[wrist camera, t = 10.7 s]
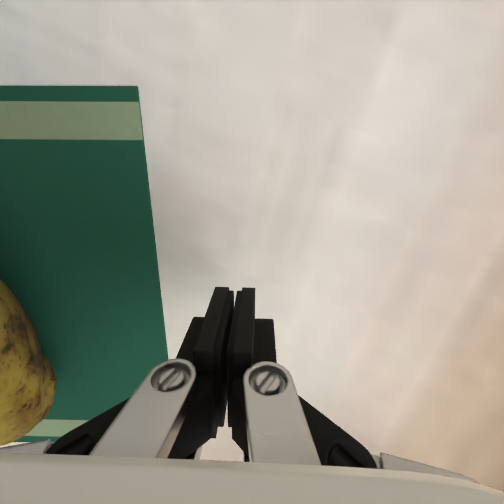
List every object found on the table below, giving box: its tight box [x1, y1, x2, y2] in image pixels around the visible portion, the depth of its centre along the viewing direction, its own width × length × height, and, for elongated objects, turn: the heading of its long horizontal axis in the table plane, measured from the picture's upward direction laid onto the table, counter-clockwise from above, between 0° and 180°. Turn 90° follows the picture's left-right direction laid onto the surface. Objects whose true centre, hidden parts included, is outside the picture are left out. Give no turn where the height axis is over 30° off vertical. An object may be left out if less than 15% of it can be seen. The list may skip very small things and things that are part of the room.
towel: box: [0, 86, 168, 443], centre depth 15 cm, size 22×16×1 cm
